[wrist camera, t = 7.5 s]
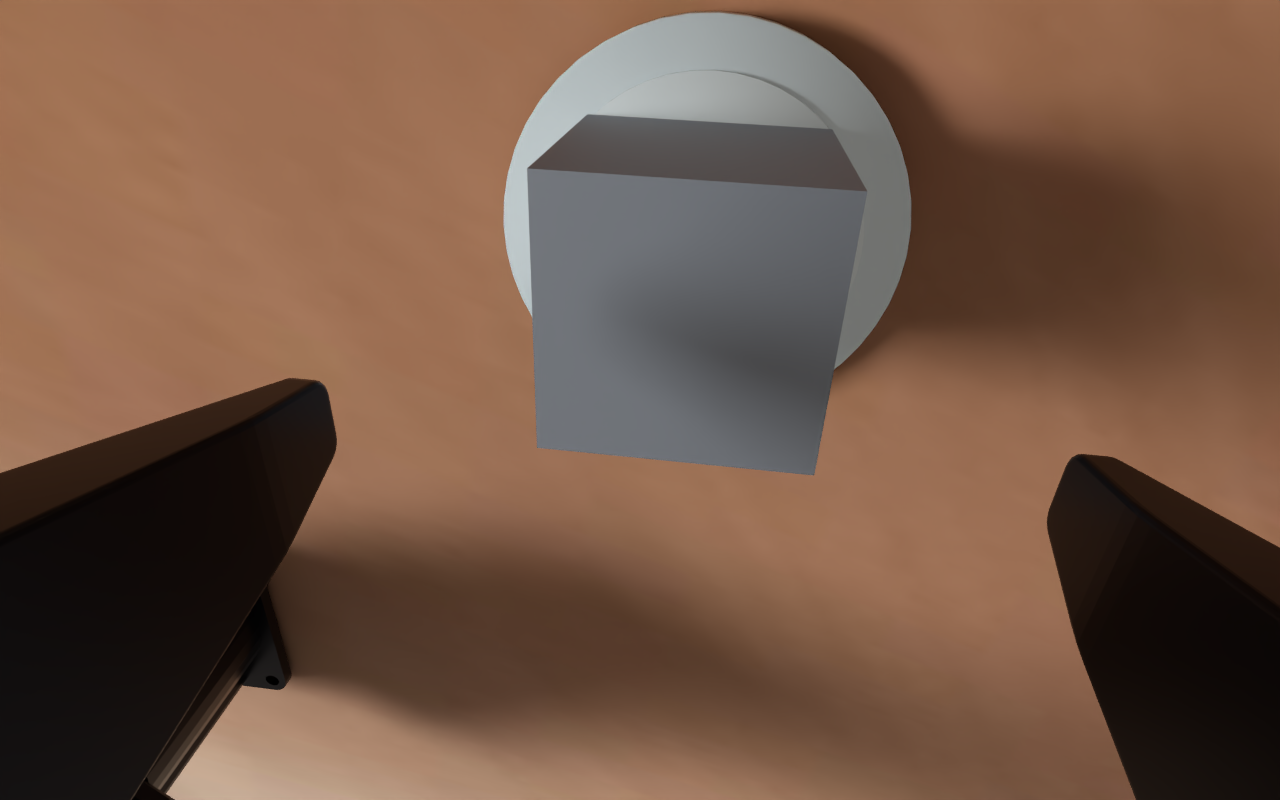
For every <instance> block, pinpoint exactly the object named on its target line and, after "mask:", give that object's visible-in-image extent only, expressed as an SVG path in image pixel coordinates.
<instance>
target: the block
mask: <svg viewBox="0 0 1280 800" xmlns="http://www.w3.org/2000/svg"><path fill="white" fill-rule="evenodd" d="M527 182H528V209H529V237H530V265H531V292H532V320H533V348H534V375H535V403H536V431H537V448H546V449H556V450H566V451H576V452H586V453H596V454H606V455H616V456H626V457H636V458H646V459H656V460H666V461H676V462H686V463H696V464H706V465H716V466H726V467H736V468H746V469H756V470H766V471H776V472H786V473H796V474H806V475H814V473H815V468H816V463H817V457H818V452H819V447H820V441H821V436H822V431H823V425H824V420H825V415H826V409H827V404H828V399H829V393H830V388H831V383H832V378H833V372H834V367H835V362H836V356H837V351H838V346H839V340H840V335H841V330H842V324H843V319H844V314H845V309H846V303H847V298H848V293H849V287H850V282H851V277H852V271H853V266H854V261H855V255H856V250H857V245H858V240H859V234H860V229H861V224H862V218H863V213H864V208H865V202H866V197H867V192H868V191H867V190H866V188H865V186H864V184H863V183H862V181H861V179H860V177H859V175H858V174H857V172H856V170H855V168H854V167H853V165H852V163H851V161H850V160H849V158H848V156H847V154H846V153H845V151H844V149H843V147H842V145H841V144H840V142H839V140H838V138H837V137H836V135H835V133H834V131H833V130H832V129H821V128H805V127H788V126H772V125H756V124H739V123H723V122H706V121H690V120H673V119H657V118H641V117H624V116H608V115H592V114H587V115H586V116H585V117H584V118H583V119H581V120H580V121H579V122H578V123H577V124H576V125H575V126H574V127H573V128H571V129H570V130H569V131H568V132H567V133H566V134H565V135H564V136H563V137H561V138H560V139H559V140H558V141H557V142H556V143H555V144H554V145H553V146H551V147H550V148H549V149H548V150H547V151H546V152H545V153H544V154H543V155H541V156H540V157H539V158H538V159H537V160H536V161H535V162H534V163H533V164H531V165H530V166H529V167H528V168H527Z"/></svg>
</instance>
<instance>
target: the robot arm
mask: <svg viewBox="0 0 1280 800" xmlns="http://www.w3.org/2000/svg"><path fill="white" fill-rule="evenodd" d="M336 445H337V437H336V431H335V426H334V421H333V416H332V411H331V405H330V400H329V395H328V392H327V389H326V387H325V386H324V385H323V384H322V383H321V382H320V381H316V380H307V379H296V378H289V379H285V380H282V381H279V382H276V383H273V384H270V385H266V386H263V387H260V388H257V389H254V390H251V391H248V392H245V393H242V394H239V395H236V396H233V397H230V398H227V399H224V400H221V401H218V402H215V403H212V404H209V405H206V406H203V407H200V408H197V409H194V410H191V411H188V412H184V413H181V414H178V415H175V416H172V417H169V418H166V419H163V420H160V421H157V422H154V423H151V424H148V425H145V426H142V427H139V428H136V429H133V430H130V431H127V432H124V433H121V434H118V435H115V436H112V437H109V438H106V439H103V440H99V441H96V442H93V443H90V444H87V445H84V446H81V447H78V448H75V449H72V450H69V451H66V452H63V453H60V454H57V455H54V456H51V457H48V458H45V459H42V460H39V461H36V462H33V463H30V464H27V465H24V466H21V467H18V468H14V469H11V470H8V471H5V472H2V473H0V800H174V799H173V798H171V797H170V796H168V795H167V794H166V793H167V791H168V790H169V789H170V787H171V786H172V784H173V783H174V782H175V780H176V779H177V777H178V776H179V774H180V773H181V772H182V770H183V769H184V767H185V766H186V764H187V763H188V762H189V760H190V759H191V757H192V756H193V755H194V753H195V752H196V750H197V749H198V747H199V746H200V745H201V743H202V742H203V740H204V739H205V738H206V736H207V735H208V733H209V732H210V730H211V729H212V728H213V726H214V725H215V723H216V722H217V720H218V719H219V718H220V716H221V715H222V713H223V712H224V711H225V709H226V708H227V706H228V705H229V703H230V702H231V701H232V699H233V698H234V696H235V695H236V694H237V692H238V691H239V689H240V688H241V686H242V685H243V686H251V687H259V688H266V689H274V690H280V689H283V688H284V687H285V686H286V684H287V683H288V681H289V679H290V678H291V671H290V667H289V664H288V660H287V656H286V653H285V649H284V646H283V642H282V639H281V635H280V632H279V628H278V625H277V621H276V618H275V614H274V611H273V607H272V603H271V600H270V596H269V593H268V589H267V584H268V582H269V581H270V579H271V578H272V576H273V574H274V573H275V571H276V570H277V568H278V566H279V565H280V563H281V561H282V560H283V558H284V556H285V555H286V553H287V551H288V549H289V547H290V545H291V544H292V542H293V540H294V538H295V536H296V534H297V532H298V530H299V528H300V526H301V524H302V521H303V519H304V517H305V515H306V513H307V511H308V509H309V507H310V505H311V503H312V501H313V499H314V497H315V494H316V492H317V490H318V488H319V486H320V484H321V482H322V480H323V478H324V476H325V474H326V472H327V470H328V468H329V465H330V463H331V461H332V459H333V457H334V454H335V451H336ZM1047 529H1048V534H1049V538H1050V542H1051V546H1052V550H1053V554H1054V558H1055V562H1056V566H1057V570H1058V574H1059V578H1060V582H1061V586H1062V590H1063V594H1064V598H1065V602H1066V606H1067V610H1068V614H1069V618H1070V622H1071V626H1072V629H1073V632H1074V636H1075V639H1076V643H1077V646H1078V649H1079V651H1080V654H1081V657H1082V660H1083V663H1084V665H1085V668H1086V671H1087V673H1088V676H1089V678H1090V681H1091V684H1092V686H1093V689H1094V691H1095V694H1096V697H1097V699H1098V702H1099V704H1100V707H1101V710H1102V712H1103V715H1104V717H1105V720H1106V723H1107V725H1108V728H1109V730H1110V733H1111V736H1112V738H1113V741H1114V743H1115V746H1116V749H1117V751H1118V754H1119V757H1120V759H1121V762H1122V764H1123V767H1124V770H1125V772H1126V775H1127V777H1128V780H1129V783H1130V785H1131V788H1132V790H1133V793H1134V796H1135V798H1136V800H1280V548H1279V547H1278V546H1276V545H1274V544H1272V543H1270V542H1268V541H1267V540H1265V539H1263V538H1261V537H1259V536H1257V535H1256V534H1254V533H1252V532H1250V531H1248V530H1246V529H1245V528H1243V527H1241V526H1239V525H1237V524H1235V523H1234V522H1232V521H1230V520H1228V519H1226V518H1224V517H1223V516H1221V515H1219V514H1217V513H1215V512H1213V511H1212V510H1210V509H1208V508H1206V507H1204V506H1202V505H1201V504H1199V503H1197V502H1195V501H1193V500H1191V499H1190V498H1188V497H1186V496H1184V495H1182V494H1180V493H1179V492H1177V491H1175V490H1173V489H1171V488H1169V487H1168V486H1166V485H1164V484H1162V483H1160V482H1158V481H1157V480H1155V479H1153V478H1151V477H1149V476H1147V475H1146V474H1144V473H1142V472H1140V471H1138V470H1136V469H1135V468H1133V467H1131V466H1129V465H1127V464H1125V463H1124V462H1122V461H1120V460H1118V459H1116V458H1113V457H1108V456H1098V455H1087V454H1078V455H1076V456H1074V457H1072V458H1071V459H1070V461H1069V462H1068V464H1067V465H1066V467H1065V470H1064V473H1063V475H1062V478H1061V480H1060V483H1059V485H1058V488H1057V490H1056V493H1055V496H1054V498H1053V501H1052V503H1051V506H1050V508H1049V512H1048V517H1047Z"/></svg>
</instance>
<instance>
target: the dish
mask: <svg viewBox="0 0 1280 800" xmlns="http://www.w3.org/2000/svg"><path fill="white" fill-rule="evenodd" d="M587 114H592V115H608V116H624V117H641V118H657V119H673V120H690V121H706V122H723V123H739V124H756V125H772V126H788V127H805V128H821V129H832V130H833V131H834V133H835V135H836V137H837V138H838V140H839V142H840V144H841V145H842V147H843V149H844V151H845V153H846V154H847V156H848V158H849V160H850V161H851V163H852V165H853V167H854V168H855V170H856V172H857V174H858V175H859V177H860V179H861V181H862V183H863V184H864V186H865V188H866V190H867V191H868V192H867V197H866V202H865V208H864V213H863V218H862V224H861V229H860V234H859V240H858V245H857V250H856V255H855V261H854V266H853V271H852V277H851V282H850V287H849V293H848V298H847V303H846V309H845V314H844V319H843V324H842V330H841V335H840V340H839V346H838V351H837V356H836V362H835V367H834V369H835V368H837V367H838V366H839V365H840V364H842V363H843V362H844V361H845V360H846V359H847V358H848V357H849V356H850V355H851V354H852V353H853V352H854V351H855V350H856V349H857V348H858V347H859V346H860V345H861V344H862V343H863V341H864V340H865V339H866V337H867V336H868V335H869V334H870V332H871V331H872V330H873V329H874V327H875V326H876V325H877V323H878V321H879V320H880V318H881V316H882V315H883V313H884V311H885V310H886V308H887V306H888V305H889V303H890V301H891V298H892V296H893V294H894V292H895V289H896V287H897V285H898V283H899V280H900V277H901V273H902V270H903V267H904V263H905V260H906V256H907V251H908V244H909V238H910V231H911V195H910V187H909V179H908V173H907V169H906V165H905V162H904V158H903V155H902V151H901V147H900V145H899V142H898V140H897V138H896V136H895V133H894V131H893V129H892V126H891V124H890V122H889V120H888V118H887V117H886V115H885V113H884V112H883V110H882V109H881V107H880V106H879V104H878V102H877V101H876V99H875V98H874V96H873V95H872V94H871V92H870V91H869V90H868V89H867V88H866V87H865V85H864V84H863V83H862V82H861V81H860V80H859V78H858V77H857V76H856V75H855V74H854V73H853V72H852V71H851V70H850V69H849V68H848V67H847V66H845V65H844V64H843V63H842V62H841V61H840V60H839V59H837V58H836V57H835V56H834V55H833V54H832V53H830V52H829V51H828V50H827V49H826V48H824V47H823V46H821V45H820V44H818V43H816V42H815V41H813V40H812V39H810V38H809V37H807V36H805V35H804V34H802V33H800V32H798V31H796V30H793V29H791V28H789V27H787V26H784V25H782V24H780V23H778V22H775V21H771V20H768V19H764V18H760V17H757V16H753V15H750V14H742V13H734V12H726V11H695V12H687V13H681V14H675V15H670V16H664V17H661V18H658V19H655V20H652V21H649V22H646V23H643V24H640V25H637V26H635V27H633V28H631V29H629V30H627V31H625V32H623V33H621V34H619V35H617V36H614V37H612V38H610V39H608V40H606V41H604V42H603V43H601V44H600V45H598V46H597V47H595V48H594V49H593V50H591V51H590V52H588V53H587V54H585V55H584V56H582V57H581V58H579V59H578V60H577V61H576V62H575V63H574V64H573V65H572V66H571V67H570V68H569V69H567V70H566V71H565V72H564V73H563V74H562V75H561V76H560V77H559V78H558V79H557V80H556V81H555V83H554V84H553V85H552V86H551V87H550V89H549V90H548V91H547V92H546V94H545V95H544V96H543V97H542V98H541V100H540V101H539V103H538V105H537V106H536V108H535V109H534V111H533V113H532V114H531V116H530V118H529V119H528V121H527V123H526V124H525V127H524V129H523V131H522V134H521V136H520V138H519V141H518V143H517V145H516V147H515V150H514V154H513V157H512V161H511V165H510V168H509V172H508V176H507V183H506V190H505V197H504V231H505V240H506V248H507V253H508V257H509V261H510V265H511V269H512V273H513V276H514V279H515V281H516V284H517V287H518V289H519V292H520V294H521V297H522V299H523V301H524V303H525V304H526V306H527V308H528V310H529V312H530V314H531V316H532V292H531V265H530V237H529V209H528V182H527V168H528V167H529V166H530V165H531V164H533V163H534V162H535V161H536V160H537V159H538V158H539V157H540V156H541V155H543V154H544V153H545V152H546V151H547V150H548V149H549V148H550V147H551V146H553V145H554V144H555V143H556V142H557V141H558V140H559V139H560V138H561V137H563V136H564V135H565V134H566V133H567V132H568V131H569V130H570V129H571V128H573V127H574V126H575V125H576V124H577V123H578V122H579V121H580V120H581V119H583V118H584V117H585V116H586V115H587Z"/></svg>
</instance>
